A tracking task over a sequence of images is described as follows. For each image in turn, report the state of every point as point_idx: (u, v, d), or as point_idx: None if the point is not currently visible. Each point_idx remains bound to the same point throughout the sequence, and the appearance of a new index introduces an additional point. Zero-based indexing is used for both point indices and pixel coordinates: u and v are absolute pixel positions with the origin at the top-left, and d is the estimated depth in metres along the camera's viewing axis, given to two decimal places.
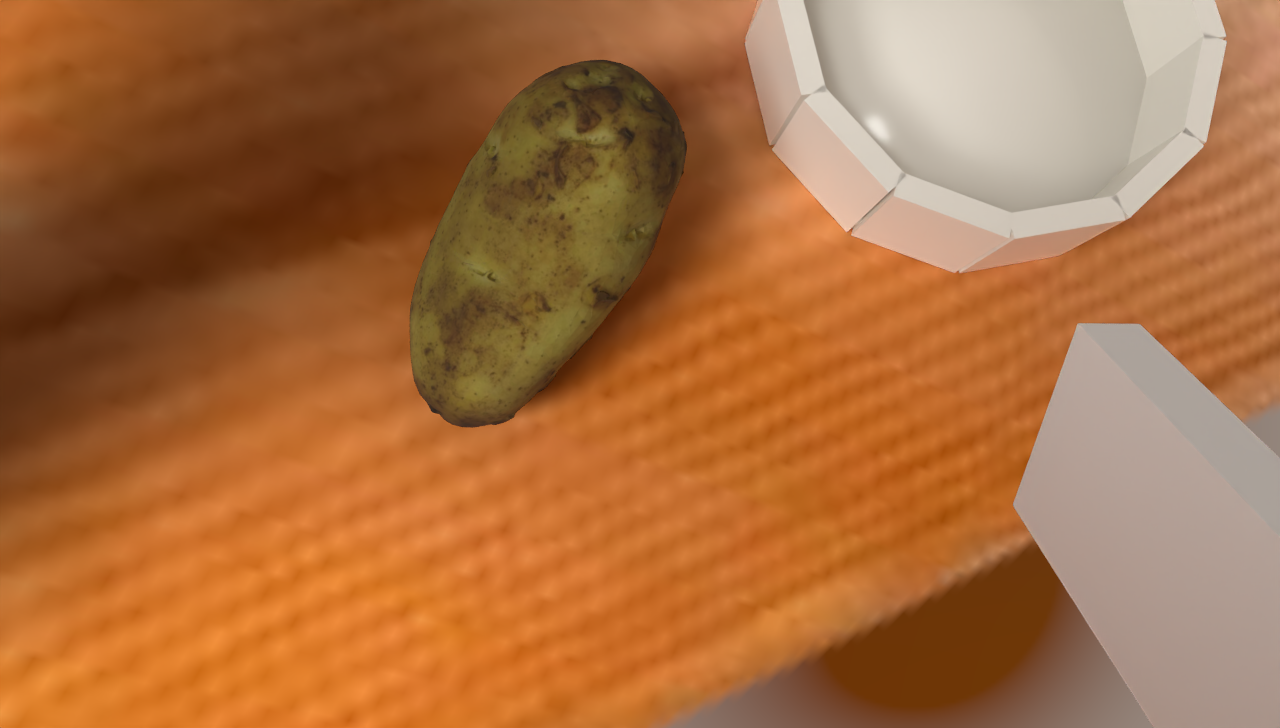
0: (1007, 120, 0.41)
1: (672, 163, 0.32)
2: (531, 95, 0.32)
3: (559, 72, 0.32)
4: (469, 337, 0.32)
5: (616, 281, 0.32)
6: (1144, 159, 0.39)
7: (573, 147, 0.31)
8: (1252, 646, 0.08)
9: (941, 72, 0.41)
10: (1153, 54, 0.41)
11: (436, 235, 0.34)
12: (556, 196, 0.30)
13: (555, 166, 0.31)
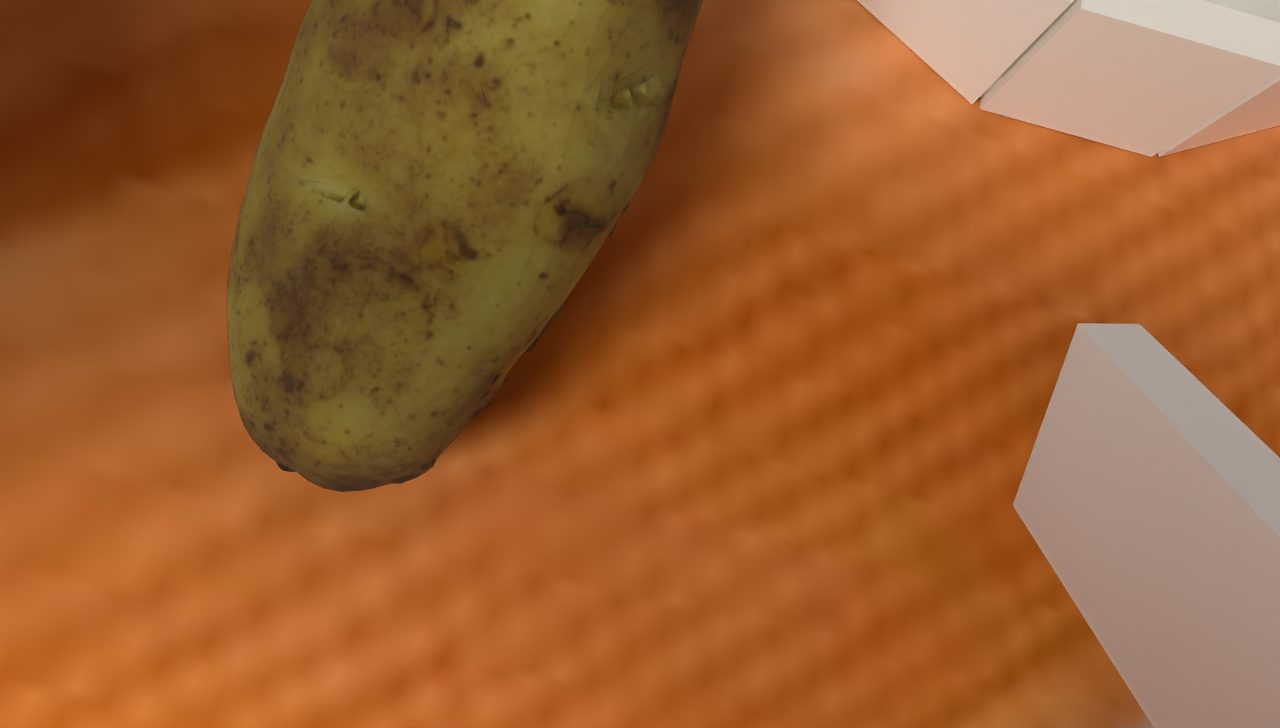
0: None
1: None
2: None
3: None
4: (324, 323, 0.16)
5: (600, 192, 0.16)
6: None
7: None
8: (1252, 646, 0.08)
9: None
10: None
11: (260, 142, 0.18)
12: (463, 18, 0.15)
13: None
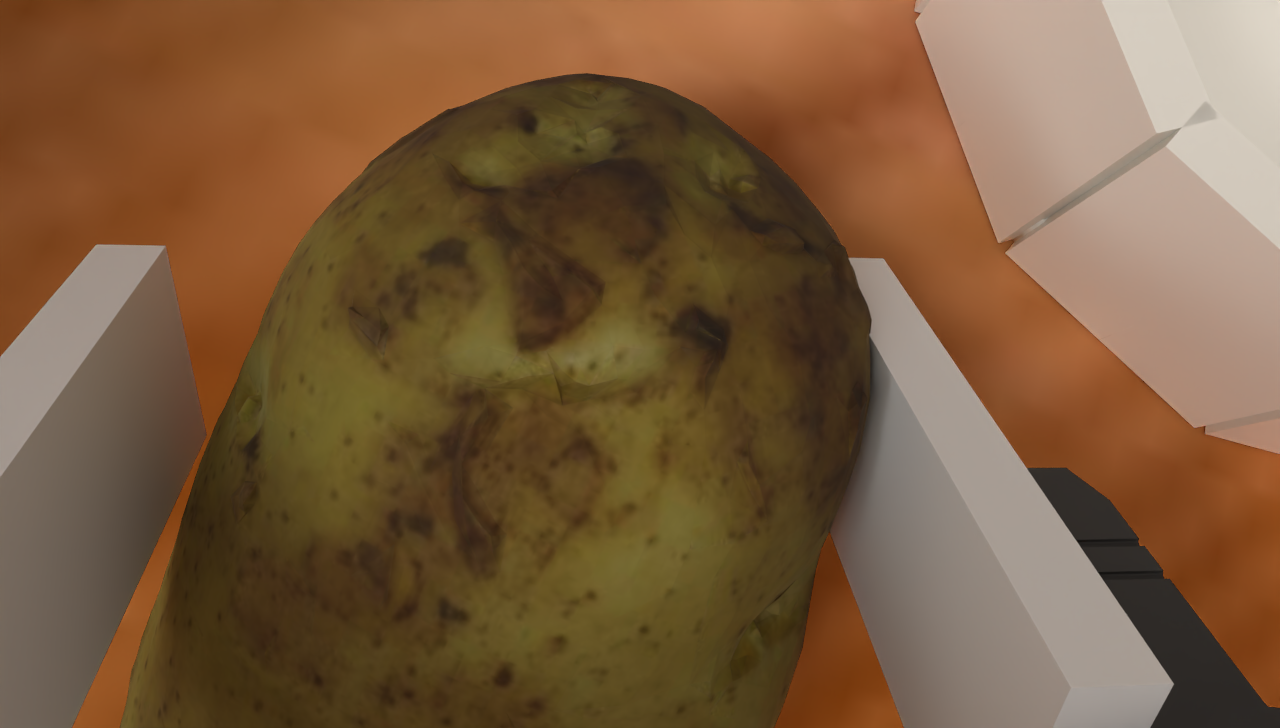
0: None
1: (858, 394, 0.09)
2: (349, 224, 0.09)
3: (437, 132, 0.09)
4: None
5: None
6: None
7: (513, 413, 0.08)
8: (908, 526, 0.09)
9: None
10: None
11: (137, 662, 0.11)
12: (470, 604, 0.08)
13: (451, 493, 0.08)
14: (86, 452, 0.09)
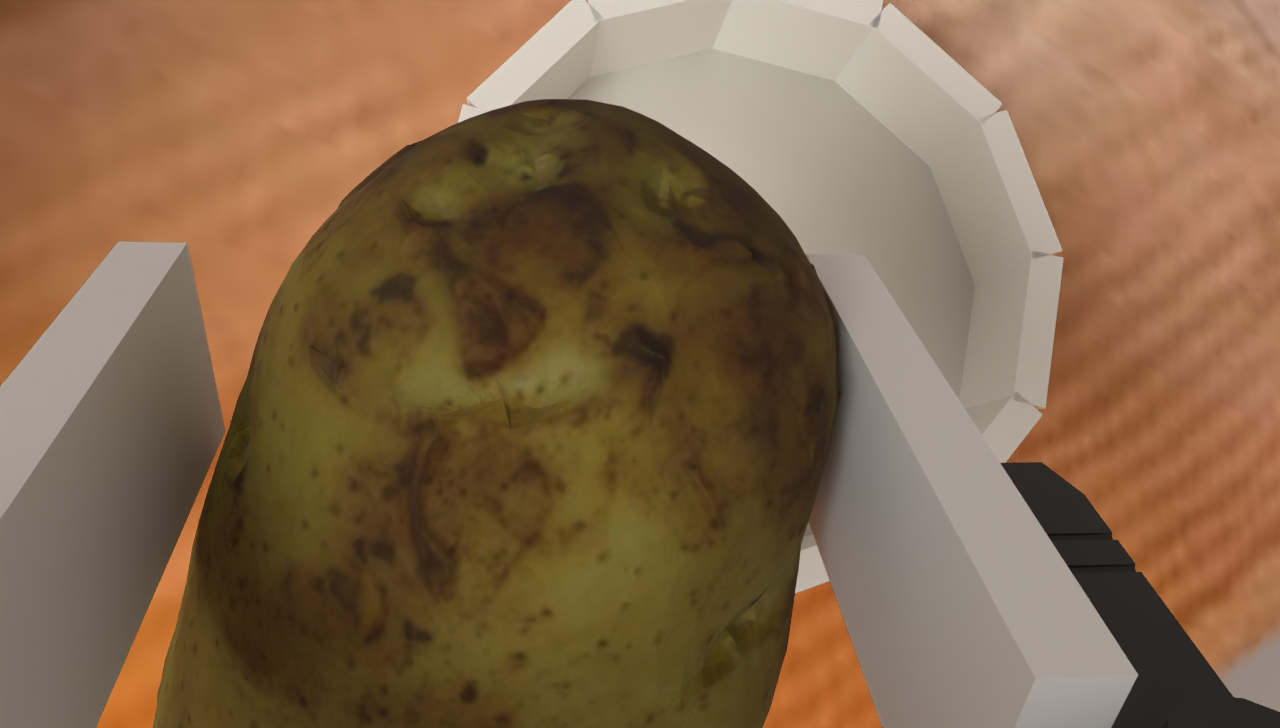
0: None
1: (815, 399, 0.09)
2: (312, 264, 0.10)
3: (394, 169, 0.10)
4: None
5: None
6: None
7: (462, 438, 0.08)
8: (883, 520, 0.09)
9: None
10: (978, 259, 0.31)
11: (161, 685, 0.12)
12: (432, 626, 0.08)
13: (410, 519, 0.08)
14: (113, 446, 0.09)
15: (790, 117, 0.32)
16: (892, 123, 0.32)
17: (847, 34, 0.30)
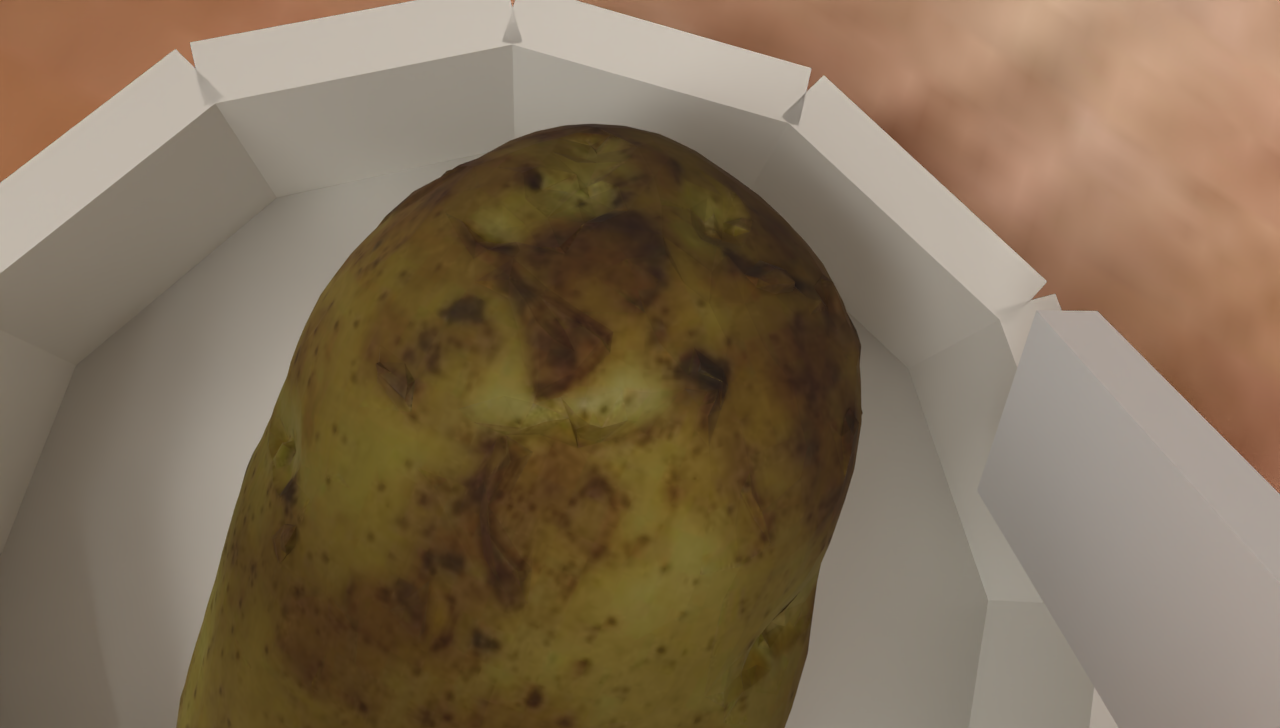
0: None
1: (849, 419, 0.10)
2: (371, 281, 0.10)
3: (448, 191, 0.10)
4: None
5: None
6: None
7: (532, 456, 0.09)
8: (1193, 621, 0.09)
9: None
10: (994, 560, 0.16)
11: (185, 690, 0.12)
12: (501, 633, 0.09)
13: (480, 533, 0.09)
14: None
15: None
16: (839, 290, 0.17)
17: (742, 134, 0.15)
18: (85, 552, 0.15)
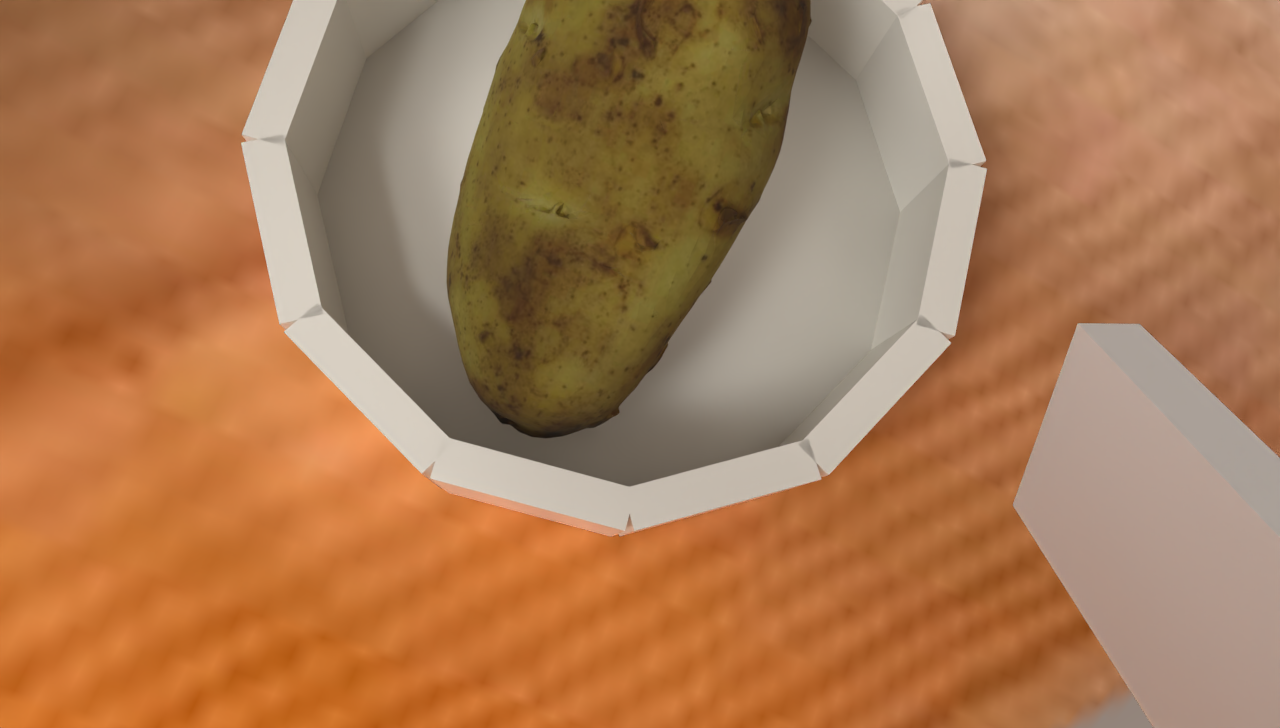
0: None
1: (801, 4, 0.21)
2: None
3: None
4: (544, 305, 0.22)
5: (744, 191, 0.22)
6: (872, 358, 0.25)
7: None
8: (1252, 645, 0.08)
9: None
10: (901, 180, 0.28)
11: (468, 171, 0.23)
12: (645, 70, 0.20)
13: (636, 27, 0.20)
14: None
15: None
16: (813, 30, 0.29)
17: None
18: (376, 159, 0.27)
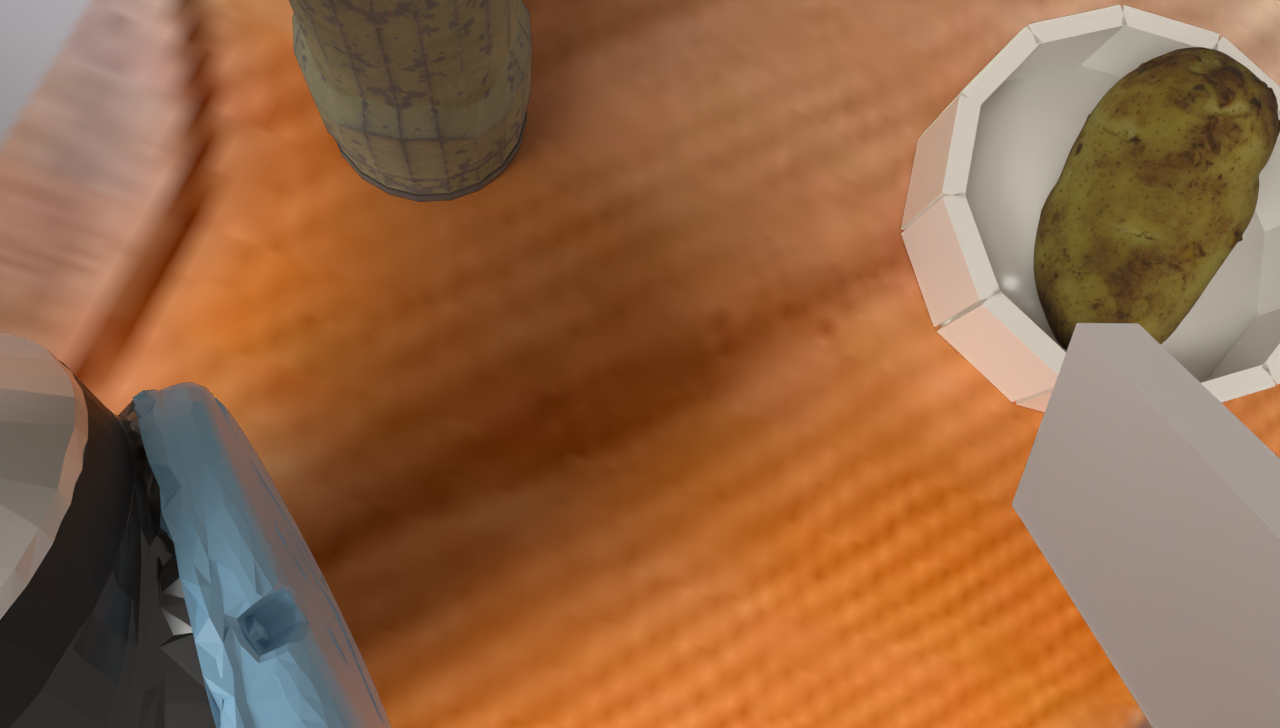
0: None
1: None
2: (1161, 84, 0.39)
3: (1175, 62, 0.39)
4: (1139, 288, 0.39)
5: (1246, 224, 0.39)
6: (1279, 319, 0.43)
7: (1220, 120, 0.38)
8: (1250, 645, 0.08)
9: None
10: (1270, 212, 0.45)
11: (1068, 212, 0.41)
12: (1213, 160, 0.38)
13: (1208, 138, 0.38)
14: None
15: None
16: None
17: None
18: None
